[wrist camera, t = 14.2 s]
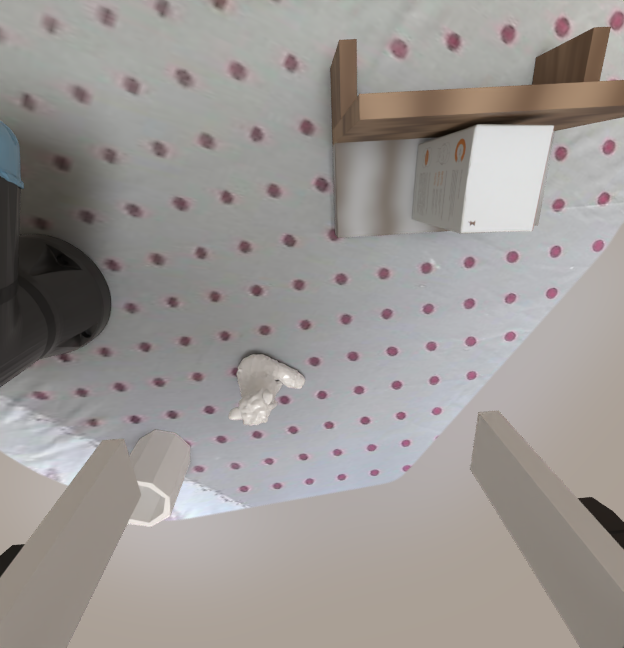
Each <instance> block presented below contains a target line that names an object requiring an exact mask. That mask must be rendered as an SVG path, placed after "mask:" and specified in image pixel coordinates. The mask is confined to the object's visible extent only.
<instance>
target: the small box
mask: <svg viewBox="0 0 624 648" xmlns="http://www.w3.org/2000/svg"><path fill="white" fill-rule="evenodd" d="M553 130H554V126H553V125H501V124H477V125H474V126H472V127H469V128H466V129H463V130H460V131H457V132H454V133H451V134H448V135H445V136H442V137H439V138H436V139H433V140H430V141H427V142H424V143H421V144H419V145H418V155H417V166H416V177H415V189H414V201H413V214H412V219H413V220H416V221H419V222H422V223H425V224H429V225H432V226H436V227H440V228H443V229H447V230H450V231H454V232H457V233H461V234H463V233H485V232H514V231H532V230H533V226H534V221H535V216H536V212H537V207H538V202H539V197H540V192H541V187H542V183H543V178H544V173H545V168H546V163H547V159H548V154H549V149H550V144H551V140H552V135H553Z"/></svg>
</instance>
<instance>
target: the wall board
mask: <svg viewBox="0 0 624 648" xmlns="http://www.w3.org/2000/svg"><path fill="white" fill-rule="evenodd" d="M610 28H611V27H596V28H592V29H590V30H588V31H587V32H585V33H583V34H581V35H579V36H577V37H575V38H573V39H571V40H569V41H567V42H565V43H563V44H562V45H560V46H558V47H556V48H554V49H552V50H550V51H548V52H546V53H544V54H542V55H540V56H538V57H536V63H535V69H534V76H533V83H532V85H521V86H502V87H483V88H464V89H445V90H426V91H407V92H388V93H369V94H359V95H358V97H357V39H350V40H339V42H338V46H337V49H336V52H335V55H334V58H333V61H332V65H331V68H330V72H331V106H332V140H333V175H334V209H335V235H336V236H337V237H338V238H344V237H360V236H376V235H392V234H408V233H424V232H440V231H450V230H447V229H443V228H440V227H436V226H432V225H429V224H425V223H422V222H419V221H416V220H413V219H412V214H413V201H414V189H415V177H416V166H417V155H418V145H419V144H421V143H424V142H427V141H430V140H433V139H436V138H439V137H442V136H445V135H448V134H451V133H454V132H457V131H460V130H463V129H466V128H469V127H472V126H474V125H477V124H501V125H553V126H554V130H553V135H552V140H551V144H550V149H549V154H548V159H547V163H546V168H545V173H544V178H543V183H542V187H541V192H540V197H539V202H538V207H537V212H536V216H535V221H534V226H537V225H538V223H539V217H540V211H541V206H542V200H543V195H544V189H545V183H546V178H547V172H548V166H549V161H550V155H551V150H552V144H553V138H554V133H555V131H557V130H562V129H567V128H572V127H577V126H581V125H586V124H591V123H596V122H601V121H606V120H611V119H616V118H621V117H624V80H617V81H600V76H601V71H602V66H603V62H604V57H605V52H606V47H607V43H608V38H609V33H610Z"/></svg>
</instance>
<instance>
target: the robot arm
mask: <svg viewBox="0 0 624 648" xmlns="http://www.w3.org/2000/svg"><path fill="white" fill-rule="evenodd" d="M21 189H24V183H23V182H22V181H21V174H20V146H19V142H18V140H17V138H16V136H15V134H14V133H13V131H12V130H11V129H10V128H9V127H8V126H7V125H6V124H4V123H3V122H2V121H0V387H1V386H3V385H4V384H6V383H7V382H8V381H10V380H11V379H13V378H14V377H15V376H17V375H18V374H20V373H21V372H22V371H24V370H25V369H26V368H28V367H29V366H31V365H32V364H33V363H35V362H36V361H38V360H39V359H42V358H46V357H51V356H55V355H59V354H64V353H68V352H71V351H74V350H77V349H79V348H81V347H83V346H84V345H86V344H87V343H89V342H90V341H91V340H93V339H94V338H95V337H96V336H98V335H99V334H100V332H101V331H102V330H103V329H104V327H105V326H106V324H107V321H108V319H109V315H110V309H111V300H110V294H109V290H108V286H107V284H106V281H105V279H104V277H103V276H102V274H101V272H100V271H99V269H98V268H97V267H96V265H95V264H94V263H93V262H92V261H91V260H90V259H89V258H88V257H87V256H86V255H85V254H84V253H82V252H81V251H80V250H78V249H77V248H75V247H74V246H72V245H71V244H69V243H67V242H65V241H62V240H60V239H57V238H54V237H51V236H46V235H40V234H25V235H19V232H20V196H21ZM470 470H471V471H472V473H473V475H474V476H475V478H476V479H477V481H478V483H479V484H480V486H481V488H482V489H483V491H484V492H485V494H486V496H487V497H488V499H489V501H490V502H491V504H492V506H493V507H494V509H495V510H496V512H497V514H498V515H499V517H500V519H501V520H502V522H503V523H504V525H505V527H506V528H507V530H508V532H509V533H510V535H511V536H512V538H513V540H514V541H515V543H516V544H517V546H518V548H519V549H520V551H521V553H522V554H523V556H524V557H525V559H526V561H527V562H528V564H529V566H530V567H531V569H532V571H533V572H534V574H535V575H536V577H537V579H538V580H539V582H540V583H541V585H542V587H543V588H544V590H545V592H546V593H547V595H548V596H549V598H550V599H551V601H552V603H553V605H554V606H555V608H556V609H557V611H558V613H559V614H560V616H561V617H562V619H563V621H564V622H565V624H566V626H567V627H568V629H569V631H570V632H571V634H572V635H573V637H574V639H575V640H576V642H577V644H578V645H579V647H580V648H624V522H623V521H622V520H621V519H620V518H619V517H618V516H617V515H616V514H615V513H614V512H613V511H612V510H610V509H609V508H607V507H606V506H604V505H602V504H601V503H600V502H598V501H597V500H595V499H594V498H592V497H587V498H577V497H576V496H575V495H574V494H573V493H572V492H571V491H570V489H569V488H568V487H567V486H566V485H565V484H564V483H563V482H562V481H561V479H560V478H559V477H558V476H557V475H556V474H555V473H554V472H553V471H552V469H550V467H549V466H548V465H547V464H546V463H545V462H544V461H543V459H541V457H540V456H539V455H538V454H537V453H536V452H535V451H534V449H533V448H532V447H531V446H530V445H529V444H528V443H527V442H526V441H525V440H524V438H523V437H522V436H521V435H520V434H519V433H518V432H517V431H516V430H515V428H514V427H513V426H512V425H511V424H510V423H509V422H508V421H507V419H506V418H505V417H504V416H503V415H502V414H501V413H500V412H499V411H488V412H478V418H477V425H476V433H475V440H474V446H473V453H472V460H471V467H470ZM140 497H141V492H140V489H139V486H138V483H137V479H136V476H135V473H134V470H133V467H132V463H131V460H130V457H129V454H128V451H127V447H126V444H125V441H124V439H113V440H102V442H101V443H100V444H99V446H98V447H97V448H96V450H95V451H94V452H93V454H92V455H91V456H90V458H89V459H88V460H87V462H86V463H85V465H84V466H83V467H82V469H81V470H80V471H79V473H78V474H77V475H76V477H75V478H74V479H73V481H72V482H71V483H70V485H69V486H68V487H67V489H66V490H65V492H64V493H63V494H62V495H61V497H60V498H59V499H58V501H57V502H56V503H55V505H54V506H53V507H52V509H51V510H50V511H49V513H48V514H47V515H46V517H45V518H44V520H43V521H42V522H41V524H40V525H39V526H38V528H37V529H36V530H35V532H34V533H33V534H32V536H31V537H30V538H29V540H28V541H27V542H26V544H21V545H12V546H11V547H10V548H9V549H7V550H6V551H5V552H4V553H3V554H2V555H0V648H67V646H68V644H69V642H70V640H71V638H72V636H73V634H74V632H75V630H76V628H77V626H78V624H79V622H80V620H81V617H82V615H83V613H84V611H85V609H86V607H87V605H88V603H89V601H90V599H91V597H92V595H93V593H94V591H95V589H96V587H97V585H98V583H99V581H100V579H101V577H102V575H103V572H104V570H105V568H106V566H107V564H108V562H109V560H110V558H111V556H112V554H113V552H114V550H115V548H116V546H117V544H118V542H119V540H120V538H121V536H122V534H123V532H124V530H125V527H126V525H127V524H128V521H129V519H130V517H131V515H132V513H133V511H134V509H135V507H136V505H137V503H138V501H139V499H140Z"/></svg>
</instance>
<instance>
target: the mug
mask: <svg viewBox="0 0 624 648" xmlns="http://www.w3.org/2000/svg"><path fill="white" fill-rule="evenodd" d="M129 457H130V460H131V463H132V467H133V470H134V473H135V476H136V479H137V483H138V486H139V489H140V492H141V497H140V499H139V501H138V503H137V505H136V507H135V509H134V511H133V513H132V515H131V517H130V519H129V521H128V524H134V525H141V526H149V527H151V526H153V525H155V524H157V523H158V522H160V521H162V520H164V519H166V518H167V517H169V516H170V515H171V513H172V510H173V507H174V505H175V502H176V499H177V496H178V494H179V491H180V488H181V486H182V483H183V480H184V478H185V475H186V472H187V470H188V467H189V464H190V445H189V444H187V443H186V442H185V441H184V440H183V439H182V438H181V437H180V436H179V435H178V434H176V433H173V432H167V431H161V430H156V429H155V430H154V431H152V432H150V433H149V434H147V435H145V436H144V437H142V438H140V439H139V441H138V442H137V444H136V446H135V447H134V449H133V451H132V452H131V454H130V456H129Z"/></svg>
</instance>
